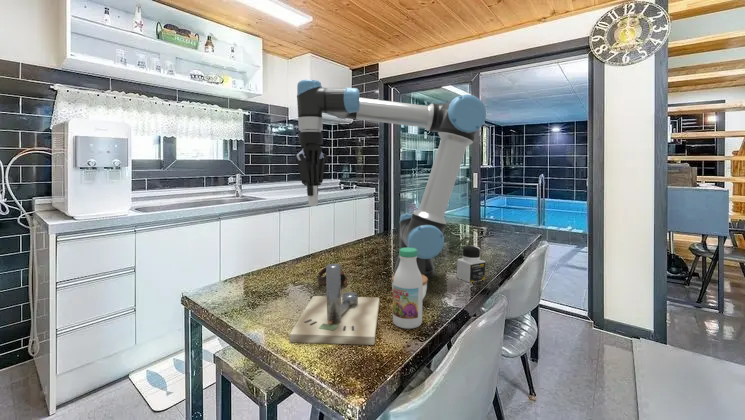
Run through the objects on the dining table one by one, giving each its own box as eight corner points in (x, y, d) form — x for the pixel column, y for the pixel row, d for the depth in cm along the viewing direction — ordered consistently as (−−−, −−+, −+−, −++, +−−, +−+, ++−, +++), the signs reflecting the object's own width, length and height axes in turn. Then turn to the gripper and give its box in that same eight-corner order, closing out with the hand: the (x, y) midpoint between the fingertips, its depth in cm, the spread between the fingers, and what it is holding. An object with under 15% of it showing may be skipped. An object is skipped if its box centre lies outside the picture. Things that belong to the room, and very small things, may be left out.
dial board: (379, 304, 106) (379, 296, 106) (374, 344, 83) (374, 335, 82) (313, 302, 108) (313, 295, 107) (289, 342, 84) (289, 333, 84)
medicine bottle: (470, 283, 124) (471, 250, 122) (456, 277, 130) (457, 245, 129) (485, 280, 127) (486, 247, 126) (471, 274, 134) (472, 243, 132)
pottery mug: (348, 292, 118) (336, 273, 115) (324, 302, 119) (311, 284, 117) (351, 272, 129) (340, 254, 126) (329, 282, 131) (317, 264, 128)
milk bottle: (401, 314, 99) (402, 244, 96) (427, 321, 95) (428, 248, 92) (387, 324, 93) (387, 250, 90) (413, 332, 89) (414, 254, 86)
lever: (345, 299, 103) (345, 252, 101) (360, 300, 102) (359, 253, 100) (321, 322, 88) (320, 268, 86) (337, 325, 87) (336, 269, 85)
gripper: (315, 133, 120) (317, 203, 123) (287, 131, 109) (290, 207, 112) (332, 132, 116) (334, 204, 119) (305, 129, 105) (308, 208, 108)
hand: (313, 205), depth 116 cm, fingers closed
